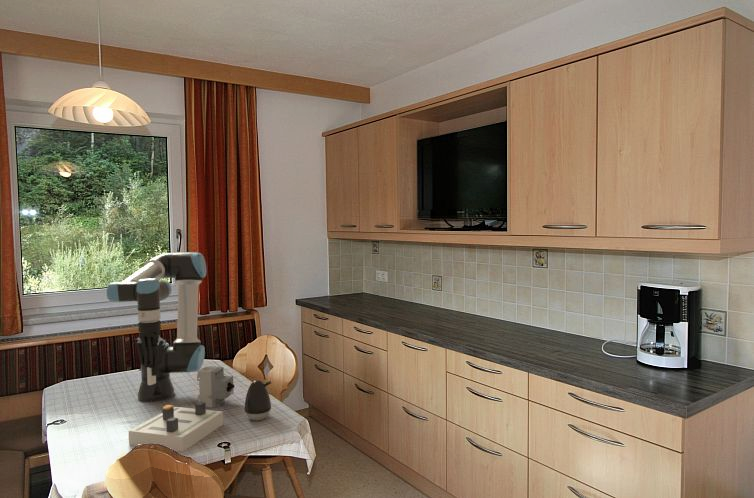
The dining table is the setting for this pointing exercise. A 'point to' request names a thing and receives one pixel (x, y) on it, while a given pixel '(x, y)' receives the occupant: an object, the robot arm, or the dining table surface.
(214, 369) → the circuit breaker
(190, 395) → the dining table surface
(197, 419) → the breaker panel
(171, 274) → the robot arm
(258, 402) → the pump dispenser
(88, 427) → the dining table surface
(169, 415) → the block
